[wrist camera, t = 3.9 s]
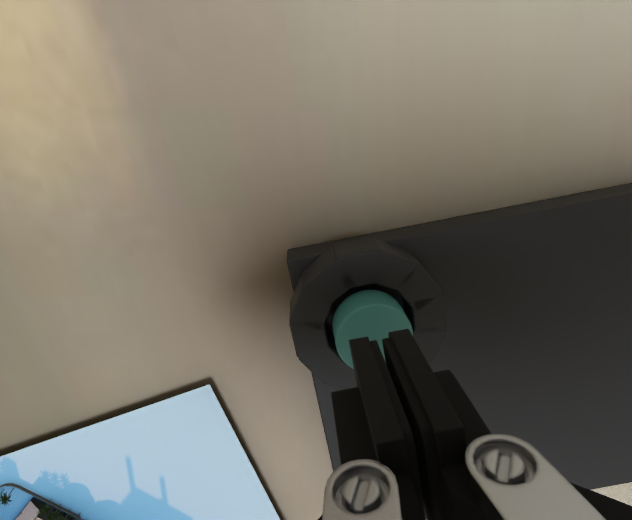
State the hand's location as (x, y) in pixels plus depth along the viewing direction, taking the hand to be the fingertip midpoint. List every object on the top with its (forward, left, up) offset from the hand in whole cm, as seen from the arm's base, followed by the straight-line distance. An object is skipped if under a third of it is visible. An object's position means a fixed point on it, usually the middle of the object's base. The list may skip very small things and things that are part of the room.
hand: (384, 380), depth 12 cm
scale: (-6, +5, -6) cm, 10 cm away
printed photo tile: (+15, +13, -7) cm, 21 cm away
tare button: (0, 0, -4) cm, 4 cm away
